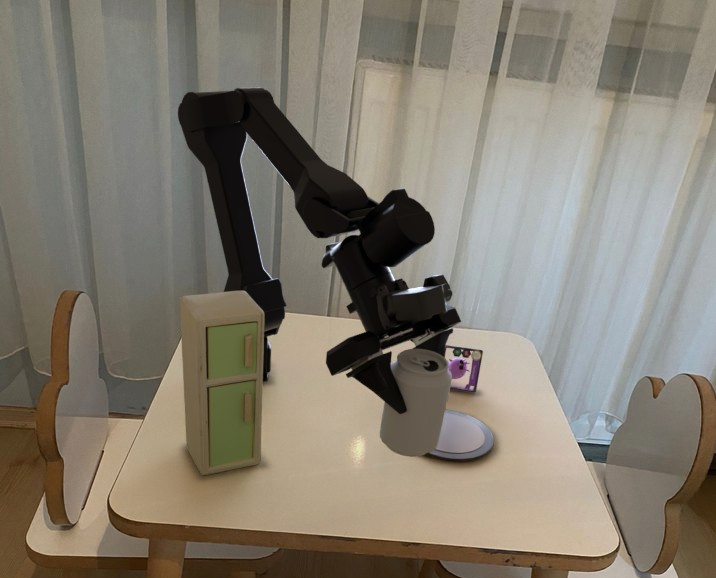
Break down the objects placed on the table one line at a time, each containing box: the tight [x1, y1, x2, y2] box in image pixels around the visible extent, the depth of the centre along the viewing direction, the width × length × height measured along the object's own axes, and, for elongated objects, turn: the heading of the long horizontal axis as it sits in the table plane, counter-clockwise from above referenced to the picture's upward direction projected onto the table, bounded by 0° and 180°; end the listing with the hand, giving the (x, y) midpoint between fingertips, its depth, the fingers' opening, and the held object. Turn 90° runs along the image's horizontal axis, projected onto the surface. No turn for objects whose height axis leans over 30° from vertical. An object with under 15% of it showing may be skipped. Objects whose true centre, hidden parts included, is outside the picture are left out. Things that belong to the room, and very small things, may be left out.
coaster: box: [424, 409, 494, 463], centre depth 101 cm, size 13×13×1 cm
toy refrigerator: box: [179, 291, 264, 476], centre depth 85 cm, size 8×7×21 cm
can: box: [379, 348, 453, 458], centre depth 87 cm, size 8×8×12 cm
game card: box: [445, 344, 484, 393], centre depth 113 cm, size 7×5×9 cm
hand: (424, 403), depth 86 cm, fingers closed on can, 7 cm apart
